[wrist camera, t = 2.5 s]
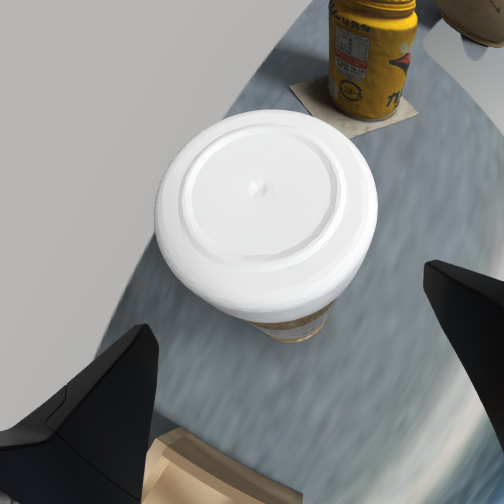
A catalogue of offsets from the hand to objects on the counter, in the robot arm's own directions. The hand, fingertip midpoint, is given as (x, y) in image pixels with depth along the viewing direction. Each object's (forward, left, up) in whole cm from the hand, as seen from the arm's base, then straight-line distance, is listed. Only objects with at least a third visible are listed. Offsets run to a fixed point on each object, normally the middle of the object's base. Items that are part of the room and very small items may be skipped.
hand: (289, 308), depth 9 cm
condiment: (+17, -9, -9) cm, 21 cm away
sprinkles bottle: (+2, 0, -9) cm, 9 cm away
